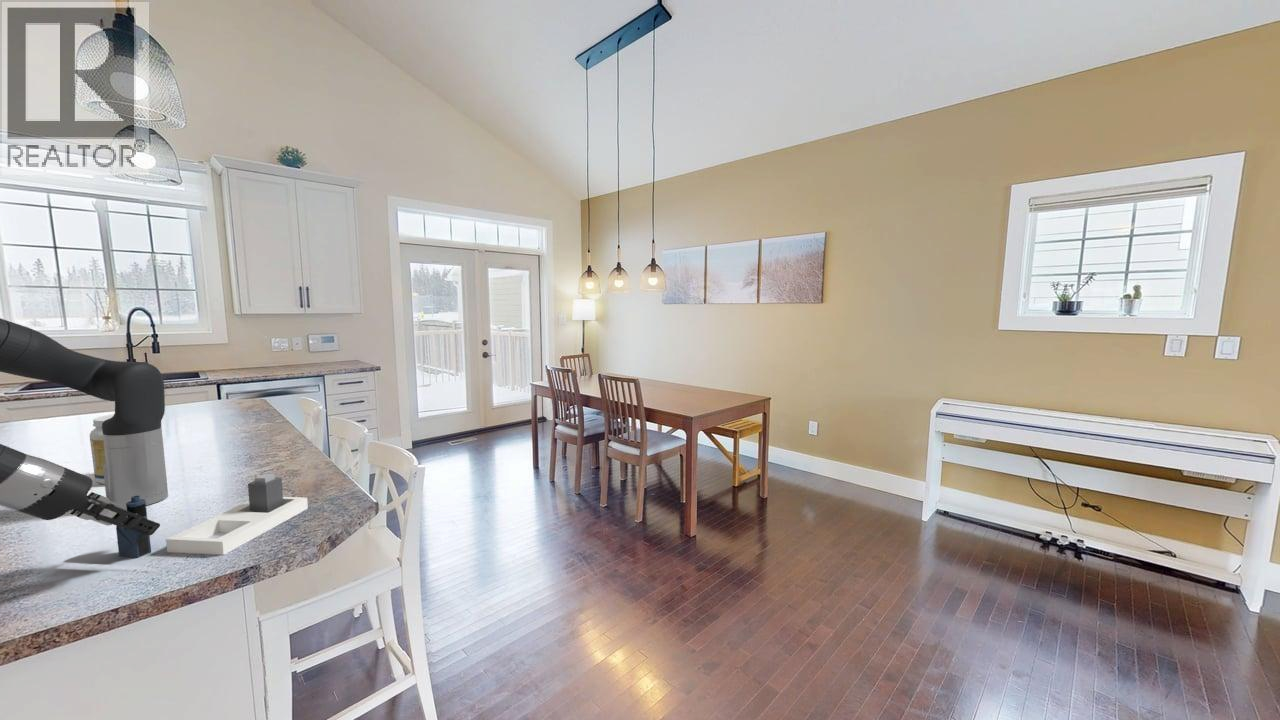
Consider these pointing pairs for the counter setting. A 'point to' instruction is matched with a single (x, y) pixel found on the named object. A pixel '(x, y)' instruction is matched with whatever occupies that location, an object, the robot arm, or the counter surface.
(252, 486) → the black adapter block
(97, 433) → the supplement tub
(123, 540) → the vaping device
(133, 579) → the counter surface
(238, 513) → the dock
